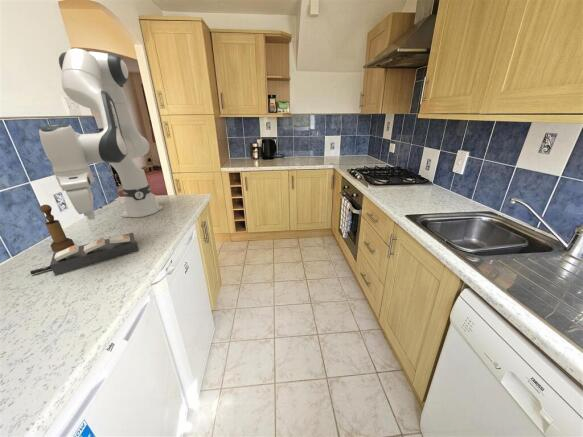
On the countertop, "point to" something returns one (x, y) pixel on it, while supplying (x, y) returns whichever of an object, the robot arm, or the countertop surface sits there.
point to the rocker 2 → (119, 238)
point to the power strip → (90, 256)
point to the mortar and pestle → (56, 231)
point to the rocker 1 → (66, 252)
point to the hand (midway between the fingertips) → (92, 218)
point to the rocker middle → (94, 245)
